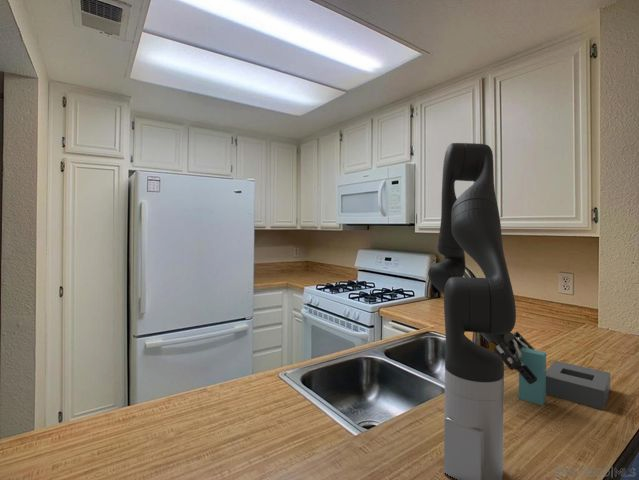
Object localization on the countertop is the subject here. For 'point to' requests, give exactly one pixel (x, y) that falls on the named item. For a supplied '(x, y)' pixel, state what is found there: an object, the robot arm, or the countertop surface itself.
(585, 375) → the gray slotted block
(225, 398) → the countertop surface
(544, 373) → the teal rectangular block
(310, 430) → the countertop surface
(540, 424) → the countertop surface
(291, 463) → the countertop surface
